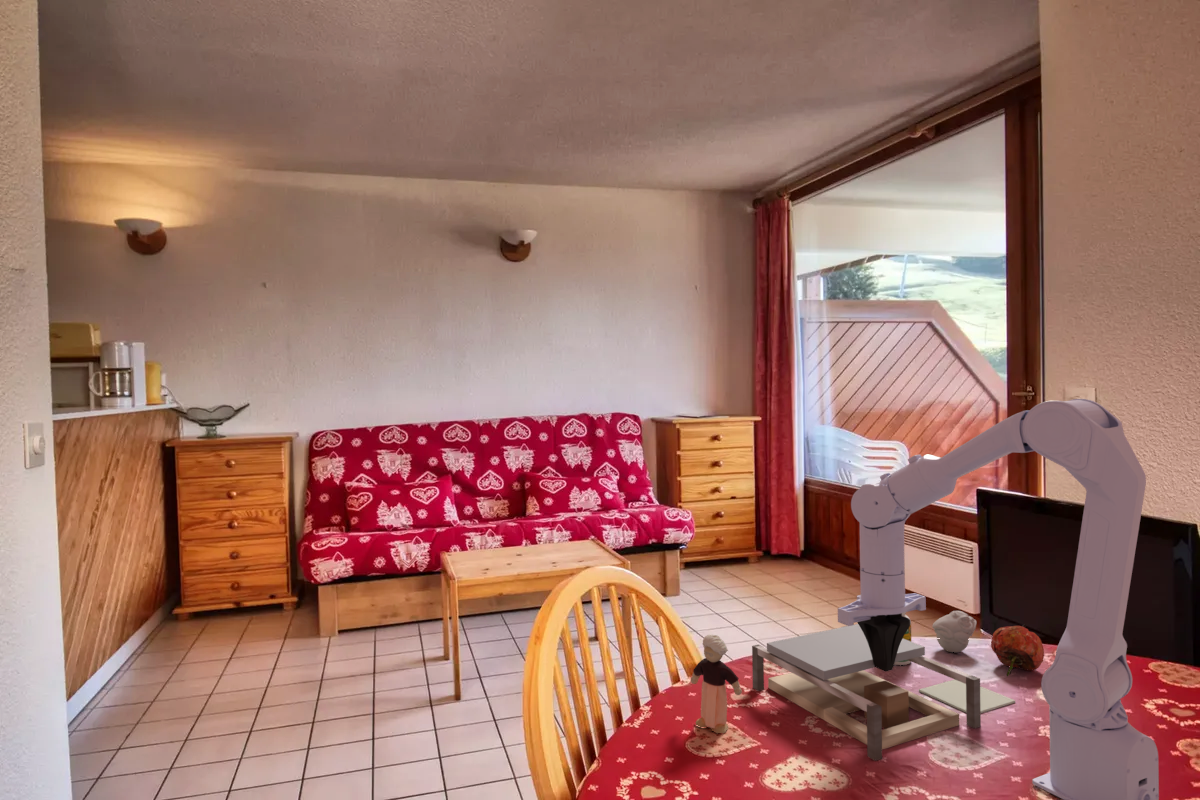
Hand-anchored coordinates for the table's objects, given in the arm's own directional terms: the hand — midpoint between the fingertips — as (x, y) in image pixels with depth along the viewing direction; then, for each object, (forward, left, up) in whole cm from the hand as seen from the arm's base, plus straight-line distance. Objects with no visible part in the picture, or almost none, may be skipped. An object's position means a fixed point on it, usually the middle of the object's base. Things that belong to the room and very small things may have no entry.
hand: (883, 668), depth 98 cm
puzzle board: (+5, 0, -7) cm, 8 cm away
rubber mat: (0, -16, -7) cm, 17 cm away
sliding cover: (+7, 0, 0) cm, 7 cm away
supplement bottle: (+15, -18, -7) cm, 24 cm away
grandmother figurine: (+9, +22, -7) cm, 25 cm away
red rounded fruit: (+3, -32, -7) cm, 33 cm away
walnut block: (0, 0, -7) cm, 7 cm away
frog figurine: (+13, -30, -7) cm, 33 cm away
